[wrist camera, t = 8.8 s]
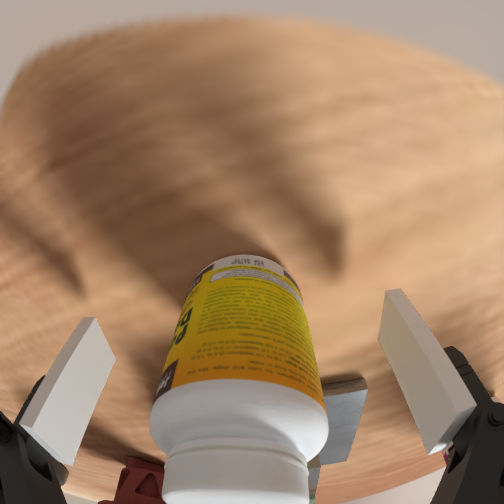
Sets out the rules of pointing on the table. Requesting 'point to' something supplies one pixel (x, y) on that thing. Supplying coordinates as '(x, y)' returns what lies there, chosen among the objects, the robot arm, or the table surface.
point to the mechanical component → (139, 484)
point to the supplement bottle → (240, 390)
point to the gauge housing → (338, 426)
